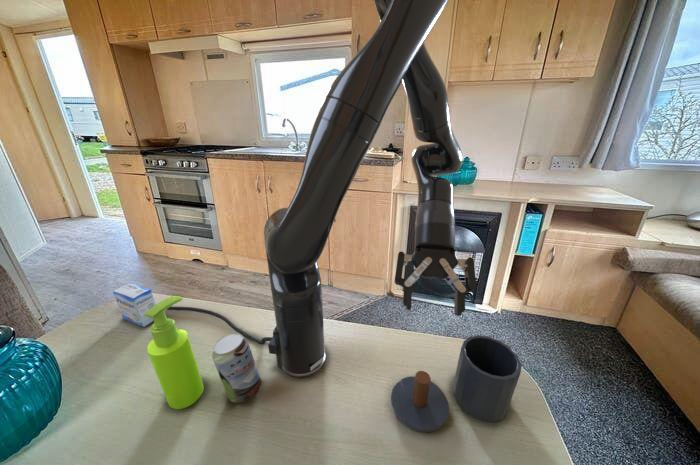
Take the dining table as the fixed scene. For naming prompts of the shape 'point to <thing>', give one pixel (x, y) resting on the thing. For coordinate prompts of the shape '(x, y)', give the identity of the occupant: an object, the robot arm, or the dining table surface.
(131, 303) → the medicine box
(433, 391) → the lid
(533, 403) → the dining table surface
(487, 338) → the tin
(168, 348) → the soap dispenser
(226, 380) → the beverage can
